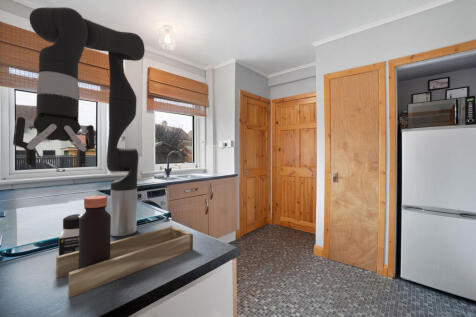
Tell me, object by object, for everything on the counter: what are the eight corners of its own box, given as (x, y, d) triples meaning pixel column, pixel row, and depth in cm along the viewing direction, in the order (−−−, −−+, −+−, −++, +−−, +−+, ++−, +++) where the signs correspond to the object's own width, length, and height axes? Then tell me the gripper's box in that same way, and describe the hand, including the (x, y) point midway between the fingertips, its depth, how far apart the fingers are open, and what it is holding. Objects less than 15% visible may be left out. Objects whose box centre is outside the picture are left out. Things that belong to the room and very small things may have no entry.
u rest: (56, 276, 56) (56, 256, 55) (171, 239, 81) (171, 226, 81) (69, 297, 48) (70, 274, 48) (192, 249, 73) (193, 234, 73)
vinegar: (72, 277, 55) (73, 197, 55) (99, 265, 61) (100, 193, 61) (89, 285, 52) (90, 201, 52) (115, 272, 58) (116, 196, 58)
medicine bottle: (58, 262, 63) (58, 220, 62) (62, 252, 69) (62, 214, 68) (88, 256, 66) (89, 216, 66) (89, 247, 72) (90, 211, 72)
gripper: (88, 105, 59) (87, 166, 59) (12, 92, 48) (10, 167, 48) (99, 101, 54) (98, 167, 54) (17, 85, 43) (16, 168, 43)
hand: (57, 167), depth 51 cm, fingers open, 8 cm apart
